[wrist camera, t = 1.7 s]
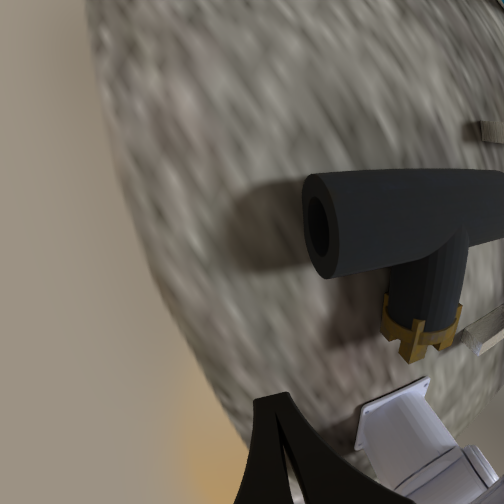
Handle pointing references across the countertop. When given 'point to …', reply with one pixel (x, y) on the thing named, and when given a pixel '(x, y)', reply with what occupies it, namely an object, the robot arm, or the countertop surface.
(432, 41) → the countertop surface
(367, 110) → the countertop surface
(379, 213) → the pipe connector
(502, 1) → the beverage bottle
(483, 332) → the aluminium bracket
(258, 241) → the countertop surface
